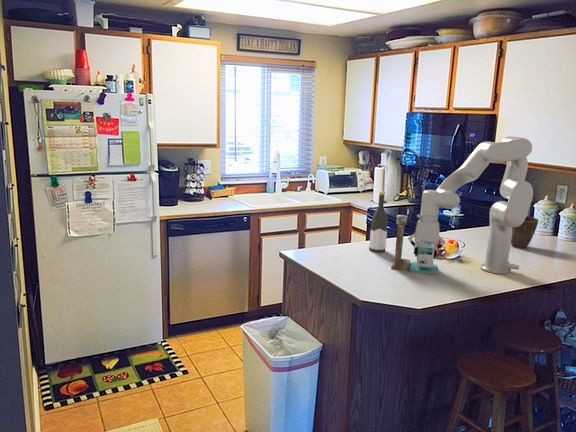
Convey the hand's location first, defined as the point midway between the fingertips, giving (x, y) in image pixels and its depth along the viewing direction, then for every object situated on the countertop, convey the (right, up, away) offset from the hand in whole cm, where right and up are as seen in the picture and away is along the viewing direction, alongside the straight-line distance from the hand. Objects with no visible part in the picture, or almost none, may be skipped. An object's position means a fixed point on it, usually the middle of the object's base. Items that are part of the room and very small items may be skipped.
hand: (425, 256), depth 221 cm
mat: (0, -6, +1) cm, 6 cm away
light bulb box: (0, -4, +1) cm, 4 cm away
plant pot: (+64, +1, +47) cm, 79 cm away
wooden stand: (-10, -4, +4) cm, 12 cm away
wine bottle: (-17, +1, +28) cm, 32 cm away
